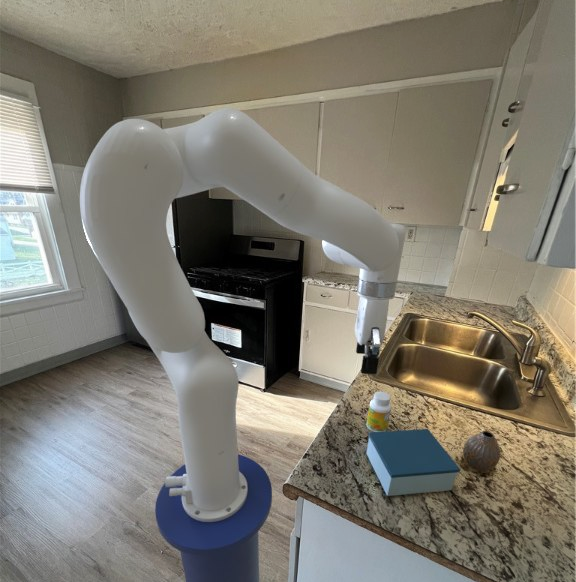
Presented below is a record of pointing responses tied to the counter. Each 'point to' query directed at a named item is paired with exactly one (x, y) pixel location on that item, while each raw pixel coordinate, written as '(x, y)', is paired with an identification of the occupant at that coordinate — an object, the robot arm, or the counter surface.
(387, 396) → the supplement bottle
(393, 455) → the blue two-tone box
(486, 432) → the vase
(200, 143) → the robot arm
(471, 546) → the counter surface
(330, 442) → the counter surface
